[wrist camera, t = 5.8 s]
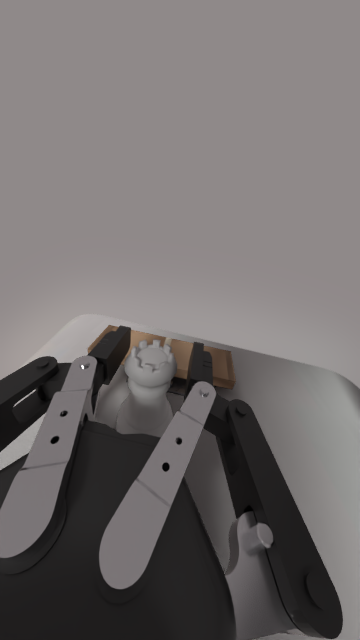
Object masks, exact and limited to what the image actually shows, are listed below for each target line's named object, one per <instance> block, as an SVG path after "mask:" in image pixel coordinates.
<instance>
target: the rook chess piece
mask: <svg viewBox="0 0 360 640" xmlns="http://www.w3.org/2000/svg"><path fill="white" fill-rule="evenodd" d="M160 342H161V340H156V339H153V344H151V345H147V341H146V339H145V340H142V341H139V347H136V346H133V348H132V350H131V353H130V354H129V355H128V356H127V358H126V360H125V362H124V368H125V372H126V374H127V375H128V376H129V378H128V387H129V389H130V390H131V391H130V395H129V397H128V398H127V399H126V400H125V401H124V402H123V403H122V405H121V407H120V410H119V412H118V415H117V422H116V431H117V432H119V433H121V434H139V433H144V434H148V435H152V436H156V437H162V436H163V434H164V432H165V431H166V429H167V427H168V425H169V424H170V422H171V420H172V419H173V413H172V409H171V406H170V403H169V402H168V400H167V398H166V392H167V391H168V389H169V388H170V383H171V379H172V378H173V377H174V375H175V374H176V373H177V366H178V364H177V362H176V359H175V357H174V353H171V349H172V347H170V346H169V345H168V344H165V345H164V347H162V346H160Z"/></svg>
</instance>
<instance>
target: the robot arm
mask: <svg viewBox="0 0 360 640" xmlns="http://www.w3.org/2000/svg"><path fill="white" fill-rule="evenodd" d="M130 344H131V328H130V327H125V326H119V328H118V329H117V330H116V331H110V332H108V333H107V334H105V335H104V337H103V338H102V339H101V340H100V341H99V343H97V345H96V346H95V347H94V348H93V349H92V350H91V351H90V353H89V354H88V355H87V356H82V357H79V358H77V359H76V360H74V361H73V363H57V360H56V359H55V358H54V357H50V356H46V357H41V358H38V359H36V360H34V361H32V362H30V363H29V364H27V365H25V366H24V367H22V368H20V369H19V370H17V371H15V372H14V373H12V374H10V375H8V376H7V377H5V378H3V379H2V380H0V452H1V451H2V450H3V449H4V448H5V447H7V446H8V445H9V444H10V443H11V442H12V441H13V440H15V439H16V438H17V437H18V436H19V435H20V434H22V433H23V432H24V431H25V430H26V429H27V428H28V427H30V426H31V425H32V424H33V423H34V422H35V421H36V420H38V419H39V418H40V417H41V416H42V415H43V414H45V413H46V415H45V417H44V419H43V422H42V424H41V426H40V429H39V431H38V434H37V436H36V438H35V441H34V443H33V445H32V448H31V450H30V452H29V453H28V454H26V455H24V456H23V457H21V458H20V459H18V460H16V461H15V462H13V463H12V464H10V465H8V466H7V467H5V468H3V469H2V470H0V640H251V639H255V638H259V637H263V636H267V635H271V634H275V633H279V632H280V633H287V634H295V635H303V636H311V637H319V638H327V639H334V638H337V637H338V636H339V634H340V633H341V630H342V625H343V616H342V609H341V605H340V601H339V598H338V595H337V592H336V590H335V587H334V585H333V583H332V581H331V579H330V577H329V574H328V572H327V570H326V568H325V566H324V564H323V561H322V559H321V557H320V555H319V553H318V551H317V549H316V546H315V544H314V542H313V540H312V538H311V536H310V533H309V531H308V529H307V527H306V525H305V523H304V521H303V518H302V516H301V514H300V512H299V510H298V508H297V505H296V503H295V501H294V499H293V497H292V495H291V493H290V490H289V488H288V486H287V484H286V482H285V480H284V477H283V475H282V473H281V471H280V469H279V467H278V465H277V462H276V460H275V458H274V456H273V454H272V452H271V449H270V447H269V445H268V443H267V441H266V439H265V437H264V434H263V432H262V430H261V428H260V426H259V424H258V421H257V419H256V417H255V415H254V413H253V411H252V409H251V407H250V406H249V405H248V404H247V403H245V402H244V401H242V400H238V399H235V400H232V401H231V402H229V401H228V400H226V399H224V398H222V397H221V396H219V395H218V394H217V393H216V391H215V389H214V387H213V368H212V367H213V365H212V356H211V354H210V352H208V351H204V344H203V343H198V342H194V344H193V348H192V352H191V355H190V360H189V365H188V373H187V380H186V388H185V395H184V403H183V405H182V407H181V409H180V410H178V411H177V412H176V414H175V415H174V417H173V419H172V420H171V422H170V424H169V425H168V427H167V429H166V431H165V432H164V434H163V436H162V437H156V436H152V435H148V434H144V433H139V434H121V433H119V432H117V431H116V430H114V429H112V428H110V427H109V426H107V425H105V424H102V423H97V422H95V415H96V410H97V405H98V399H99V394H100V387H101V386H102V384H106V385H109V383H110V381H111V380H112V378H113V376H114V375H115V373H116V371H117V370H118V368H119V366H120V365H121V363H122V361H123V359H124V358H125V356H126V354H127V353H128V351H129V348H130ZM35 389H36V391H35V392H33V393H32V394H31V395H29V396H28V397H27V398H25V399H24V400H23V401H21V402H20V403H19V404H17V405H16V406H14V405H15V404H16V403H17V402H18V401H19V400H21V399H22V398H24V397H25V396H26V395H28V394H29V393H30V392H32V391H33V390H35ZM13 406H14V407H13ZM203 428H204V429H206V430H207V431H209V432H210V433H212V434H214V435H215V436H216V439H217V443H218V447H219V451H220V455H221V459H222V463H223V467H224V471H225V475H226V479H227V483H228V487H229V491H230V495H231V499H232V503H233V507H234V511H235V515H236V520H235V521H234V522H233V523H232V525H231V527H230V531H229V547H230V561H229V566H228V568H227V571H226V572H225V574H224V572H223V570H222V567H221V565H220V562H219V560H218V558H217V555H216V553H215V550H214V548H213V546H212V543H211V541H210V538H209V536H208V534H207V531H206V529H205V526H204V524H203V522H202V519H201V517H200V514H199V512H198V509H197V507H196V505H195V502H194V500H193V497H192V495H191V493H190V490H189V488H188V485H187V483H186V481H185V478H184V473H185V471H186V468H187V466H188V463H189V461H190V458H191V456H192V454H193V451H194V449H195V446H196V444H197V441H198V439H199V436H200V434H201V431H202V429H203Z"/></svg>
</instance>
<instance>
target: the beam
mask: <svg viewBox="0 0 360 640" xmlns="http://www.w3.org/2000/svg"><path fill="white" fill-rule="evenodd" d="M118 328H119V327H116V326H111V325H109V326H108V327H107V328H106V329H105V330H104V331H103V332H102V333H101V334H100V336H99V337H98V338H97V339H96V340H95V341H94V342H93V343H92V344H91V345H90V346H89V348H88V354H89V353H90V351H91V350H92V349H93V348H94V347H95V346H96V345H97V343H99V341H100V340H101V339H102V338H103V337H104V335H105V334H107V333H108V332H110V331H116V330H117V329H118ZM145 339H146V341H147V345H151V344H153V339H156V340H161V342H160V346H162V347H164V345H165V344H168V345H169V346H170V347H172V349H171V353H174V357H175V359H176V362H177V364H178V366H177V373H176V374H175V375H174V377H179V378H183V379H187V373H188V365H189V360H190V355H191V352H192V348H193V344H194V343H189V342H185V341H180V340H175V339H171V338H166V337H162V336H157V335H152V334H148V333H143V332H139V331H134V330H131V344H130V348H129V351H128V353H127V354H126V356H125V358H124V359H123V361H122V363H121V365H124V362H125V360H126V358H127V356H128V355H129V354H130V353H131V350H132V348H133V346H136V347H139V341H142V340H145ZM204 351H208V352H210V354H211V356H212V365H213V367H212V368H213V385H214V386H219V387H223V388H228V389H232V388H233V386H234V384H235V382H236V380H235V374H234V368H233V362H232V356H231V351H226V350H221V349H217V348H212V347H208V346H204Z"/></svg>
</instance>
